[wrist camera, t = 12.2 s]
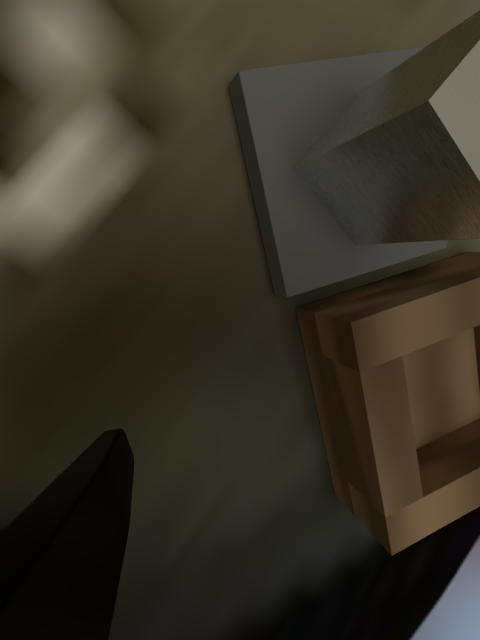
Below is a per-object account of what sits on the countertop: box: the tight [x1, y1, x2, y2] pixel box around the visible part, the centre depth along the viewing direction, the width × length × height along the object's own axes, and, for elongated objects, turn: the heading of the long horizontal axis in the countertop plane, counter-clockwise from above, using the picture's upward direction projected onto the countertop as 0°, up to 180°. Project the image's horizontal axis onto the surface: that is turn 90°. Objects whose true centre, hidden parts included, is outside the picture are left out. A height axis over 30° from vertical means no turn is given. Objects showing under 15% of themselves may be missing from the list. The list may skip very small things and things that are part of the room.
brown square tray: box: [296, 252, 480, 555], centre depth 21 cm, size 12×12×5 cm
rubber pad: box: [228, 47, 447, 298], centre depth 19 cm, size 10×10×2 cm
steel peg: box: [292, 10, 480, 245], centre depth 15 cm, size 5×5×8 cm
